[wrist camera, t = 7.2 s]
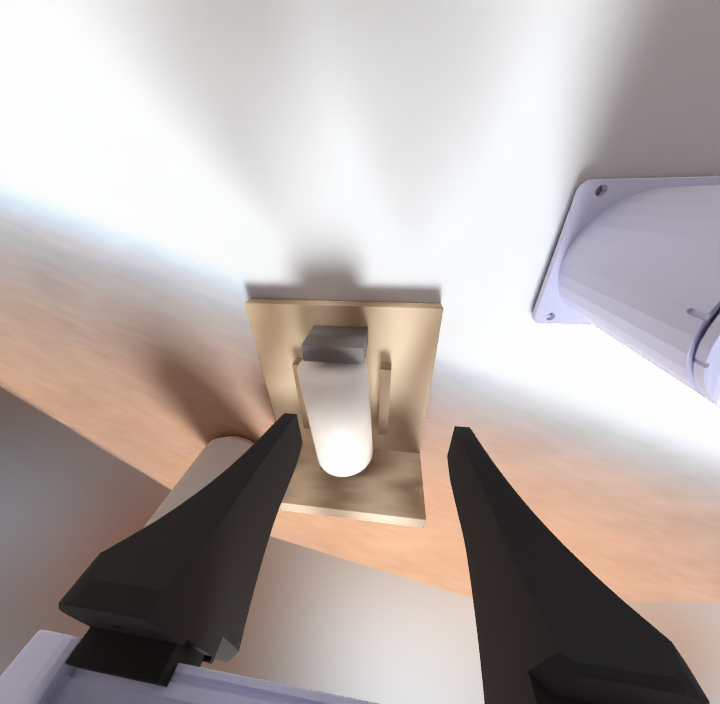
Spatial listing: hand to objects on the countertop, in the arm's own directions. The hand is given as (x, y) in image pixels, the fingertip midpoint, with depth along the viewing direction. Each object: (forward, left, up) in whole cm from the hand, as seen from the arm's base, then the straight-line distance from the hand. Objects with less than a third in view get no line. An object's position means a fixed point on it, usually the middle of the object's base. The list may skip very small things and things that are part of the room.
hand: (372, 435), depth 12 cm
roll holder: (+3, +5, -9) cm, 11 cm away
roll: (+3, +5, -8) cm, 10 cm away
